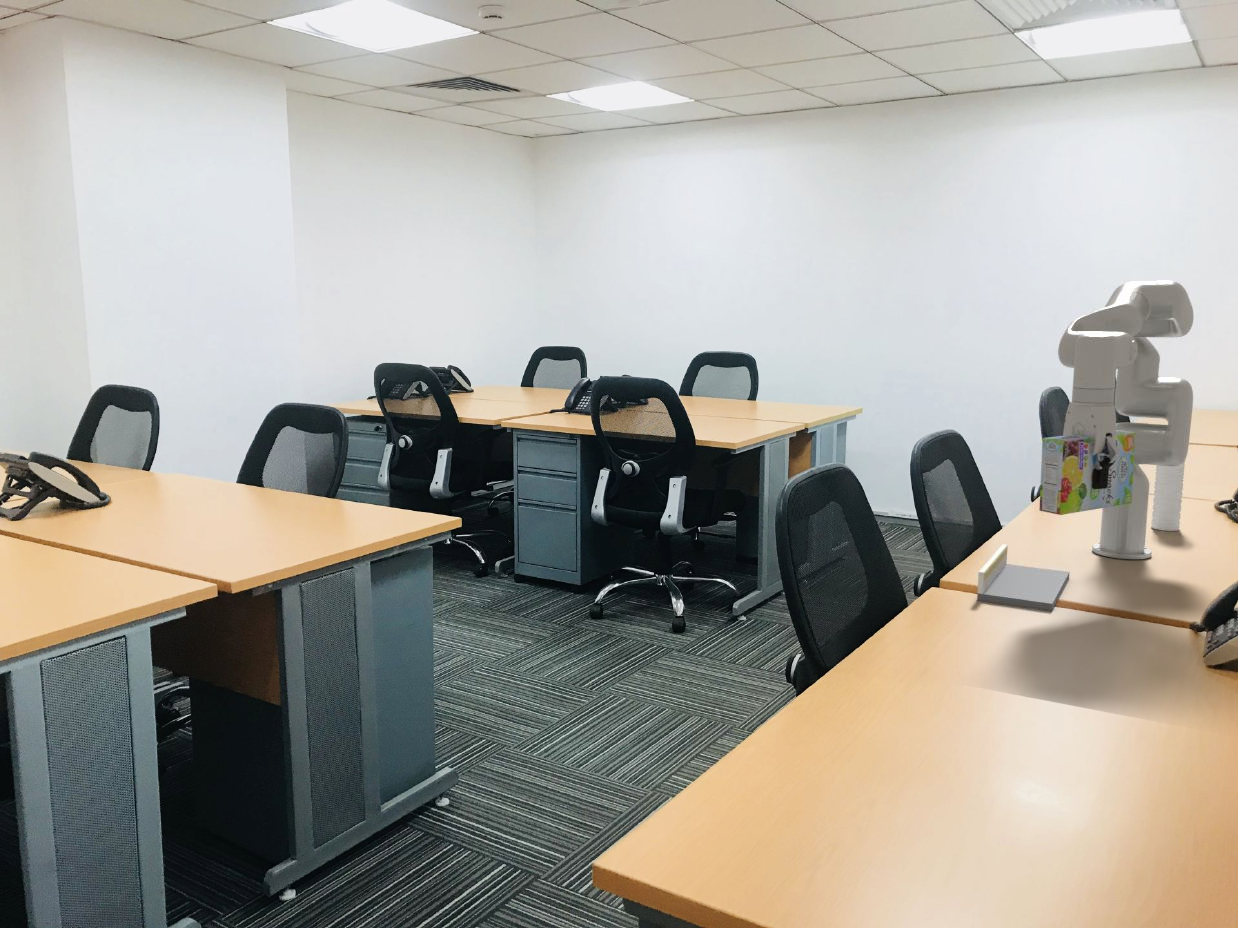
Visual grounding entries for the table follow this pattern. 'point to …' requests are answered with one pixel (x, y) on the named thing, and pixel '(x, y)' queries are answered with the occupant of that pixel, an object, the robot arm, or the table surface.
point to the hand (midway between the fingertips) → (1086, 484)
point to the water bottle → (1167, 497)
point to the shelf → (1019, 583)
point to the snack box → (1083, 475)
